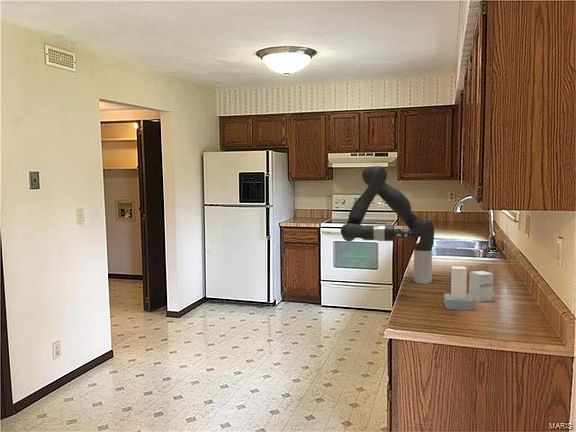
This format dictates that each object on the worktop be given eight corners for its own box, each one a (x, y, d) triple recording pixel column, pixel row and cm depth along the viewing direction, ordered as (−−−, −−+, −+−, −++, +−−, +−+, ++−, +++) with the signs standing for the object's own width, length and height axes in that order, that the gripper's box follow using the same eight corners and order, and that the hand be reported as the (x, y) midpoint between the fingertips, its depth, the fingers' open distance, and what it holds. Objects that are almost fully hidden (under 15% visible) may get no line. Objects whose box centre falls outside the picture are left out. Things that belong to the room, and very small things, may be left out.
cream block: (451, 295, 213) (451, 266, 212) (464, 295, 212) (464, 266, 210) (452, 298, 207) (453, 268, 206) (466, 299, 206) (466, 269, 205)
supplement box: (478, 302, 215) (479, 274, 214) (468, 298, 223) (468, 271, 221) (492, 301, 217) (493, 273, 216) (482, 297, 225) (482, 270, 223)
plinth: (444, 302, 216) (444, 293, 216) (470, 303, 214) (470, 294, 214) (446, 309, 206) (446, 299, 205) (473, 310, 203) (473, 301, 203)
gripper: (383, 226, 220) (420, 227, 216) (384, 223, 234) (419, 223, 230) (383, 243, 220) (420, 243, 217) (384, 238, 234) (418, 239, 231)
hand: (419, 233), depth 223 cm, fingers open, 8 cm apart
